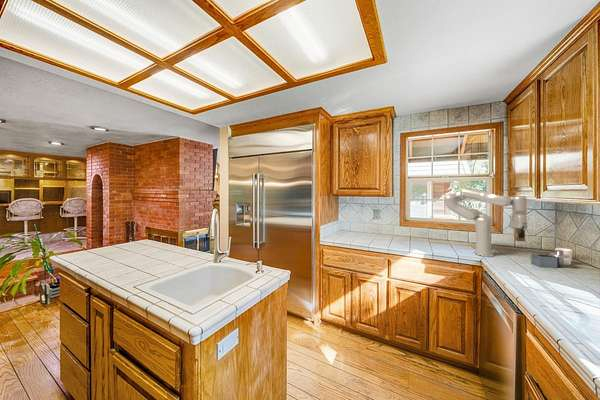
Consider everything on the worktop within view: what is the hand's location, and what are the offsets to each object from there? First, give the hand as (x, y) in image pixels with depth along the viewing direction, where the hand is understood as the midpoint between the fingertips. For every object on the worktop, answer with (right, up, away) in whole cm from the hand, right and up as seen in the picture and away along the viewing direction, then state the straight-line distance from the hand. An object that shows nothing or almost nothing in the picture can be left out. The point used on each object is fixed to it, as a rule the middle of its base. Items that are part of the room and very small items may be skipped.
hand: (519, 237), depth 166 cm
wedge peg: (0, -3, 0) cm, 3 cm away
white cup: (+22, -17, -9) cm, 29 cm away
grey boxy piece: (+8, -17, -14) cm, 24 cm away
